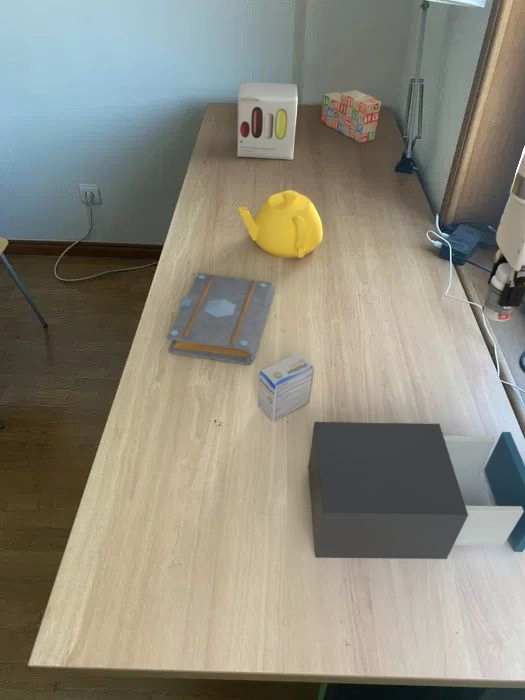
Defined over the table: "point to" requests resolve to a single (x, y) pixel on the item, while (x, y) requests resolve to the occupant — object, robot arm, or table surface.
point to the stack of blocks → (351, 114)
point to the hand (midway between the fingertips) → (503, 294)
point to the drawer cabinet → (383, 491)
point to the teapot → (285, 225)
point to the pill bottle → (498, 295)
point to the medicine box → (285, 386)
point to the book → (222, 319)
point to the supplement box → (266, 120)
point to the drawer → (506, 484)
